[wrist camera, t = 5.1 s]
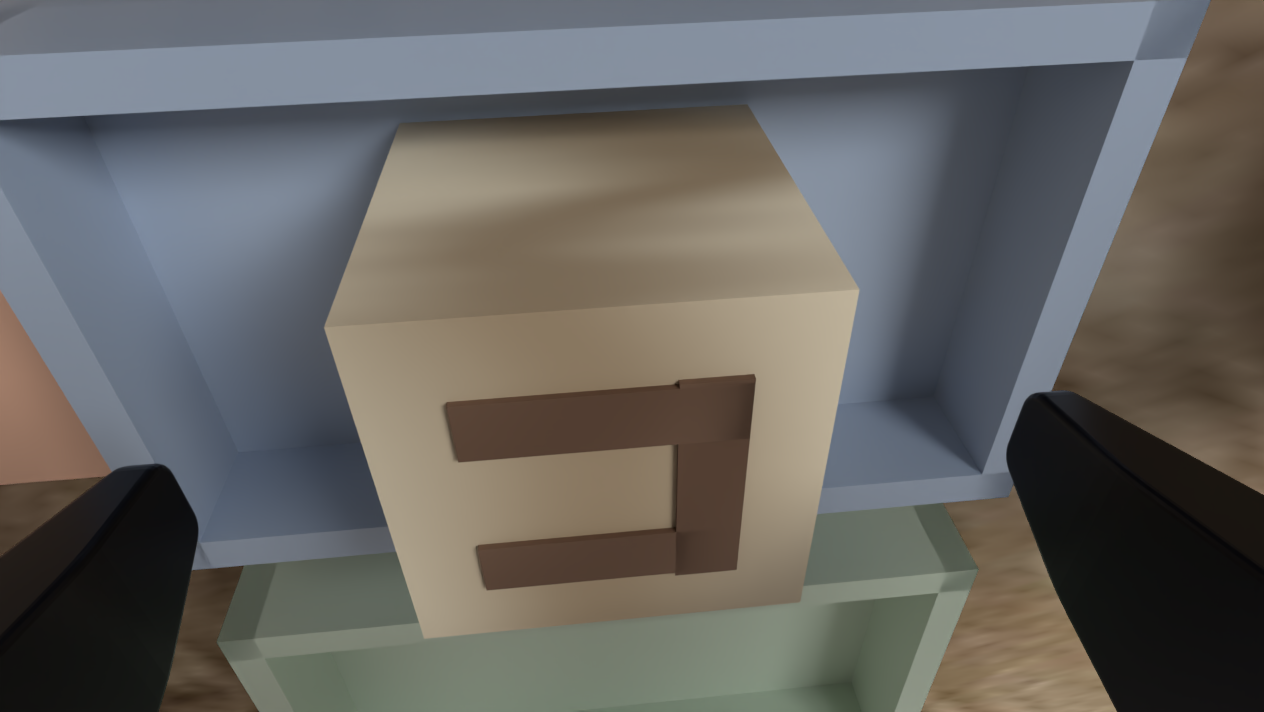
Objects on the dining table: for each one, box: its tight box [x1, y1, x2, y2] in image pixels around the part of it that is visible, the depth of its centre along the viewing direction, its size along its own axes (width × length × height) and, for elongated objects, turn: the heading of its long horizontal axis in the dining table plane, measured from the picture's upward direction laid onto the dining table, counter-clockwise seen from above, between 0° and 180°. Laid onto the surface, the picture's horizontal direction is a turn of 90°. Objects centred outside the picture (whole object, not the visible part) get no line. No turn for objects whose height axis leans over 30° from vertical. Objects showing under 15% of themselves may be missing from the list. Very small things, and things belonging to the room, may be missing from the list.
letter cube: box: [324, 104, 860, 639], centre depth 10 cm, size 4×4×5 cm
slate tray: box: [0, 0, 1211, 570], centre depth 11 cm, size 13×8×2 cm, turn 91°
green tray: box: [217, 503, 979, 712], centre depth 17 cm, size 13×8×2 cm, turn 91°
